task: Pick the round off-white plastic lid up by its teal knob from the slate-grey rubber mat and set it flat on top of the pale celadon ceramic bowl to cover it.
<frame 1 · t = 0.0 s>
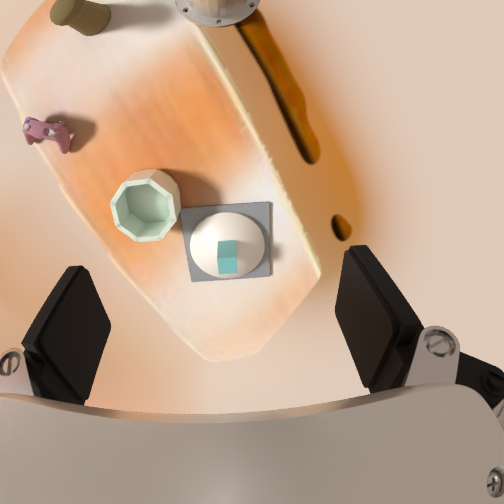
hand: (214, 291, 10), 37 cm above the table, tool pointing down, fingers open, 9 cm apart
mat: (227, 243, 51), on the table
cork: (94, 20, 28), on the table
bowl: (151, 197, 45), on the table
lid: (227, 245, 51), resting on mat
video game controller: (53, 131, 37), on the table
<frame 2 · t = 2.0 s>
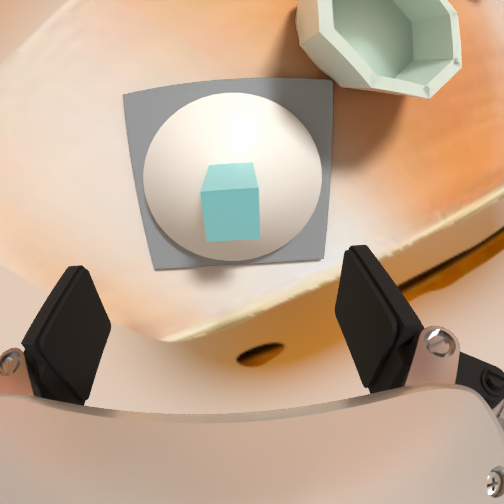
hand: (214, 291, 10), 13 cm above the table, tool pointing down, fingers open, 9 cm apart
mat: (232, 177, 21), on the table
bowl: (360, 31, 15), on the table
lid: (232, 179, 21), point 1 cm above the table, touching mat
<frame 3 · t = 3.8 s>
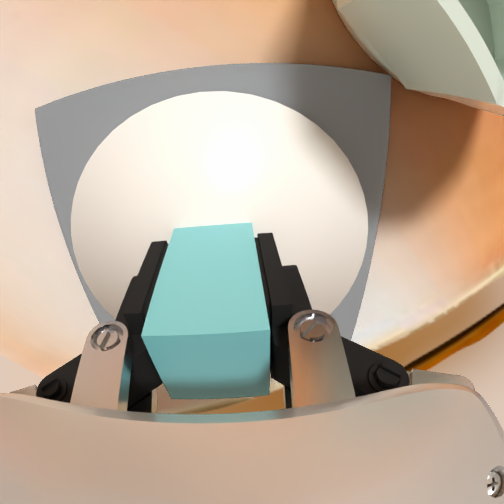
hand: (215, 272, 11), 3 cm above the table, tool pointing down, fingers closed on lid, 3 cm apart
mat: (217, 240, 13), on the table
bowl: (424, 3, 7), on the table
lid: (216, 246, 13), point 1 cm above the table, touching gripper, mat
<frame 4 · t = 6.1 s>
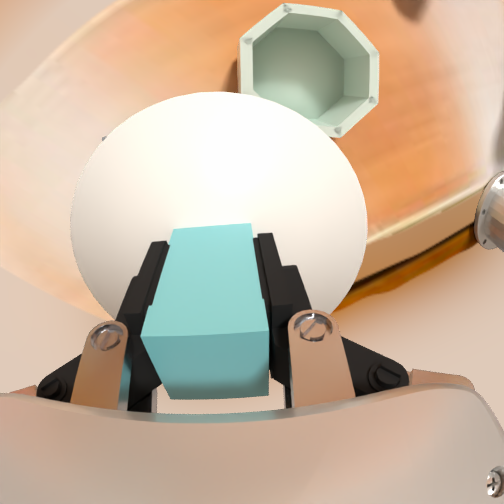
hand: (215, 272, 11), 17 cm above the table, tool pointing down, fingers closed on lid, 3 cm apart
bowl: (294, 73, 21), on the table
lid: (216, 246, 13), point 15 cm above the table, touching gripper
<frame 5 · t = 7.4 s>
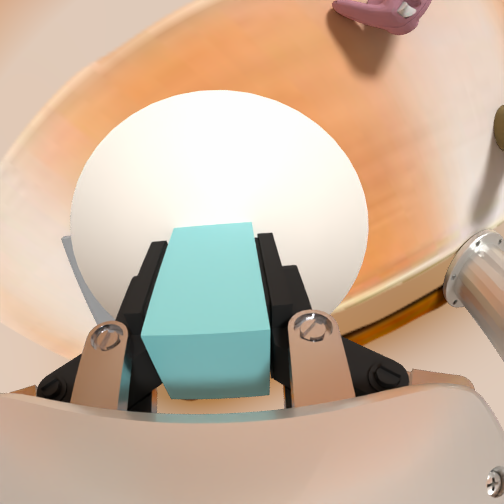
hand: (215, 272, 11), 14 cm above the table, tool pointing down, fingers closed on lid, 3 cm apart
mat: (142, 292, 29), on the table
lid: (216, 245, 12), point 12 cm above the table, touching gripper
when the fingers open (9 cm above the table, at t = 8.4 s): lid drops 1 cm, resting on bowl.
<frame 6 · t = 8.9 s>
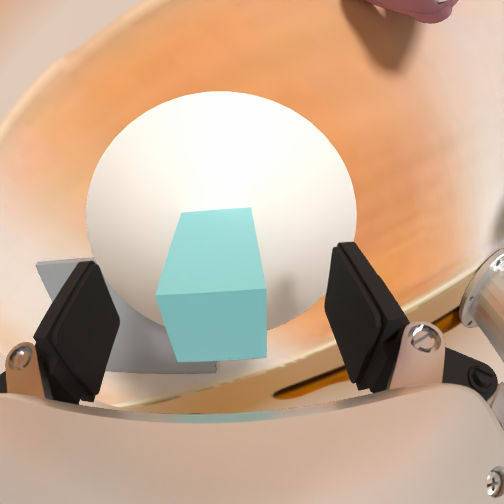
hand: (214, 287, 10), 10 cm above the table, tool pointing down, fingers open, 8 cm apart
mat: (128, 323, 25), on the table
lid: (219, 230, 14), point 6 cm above the table, touching bowl
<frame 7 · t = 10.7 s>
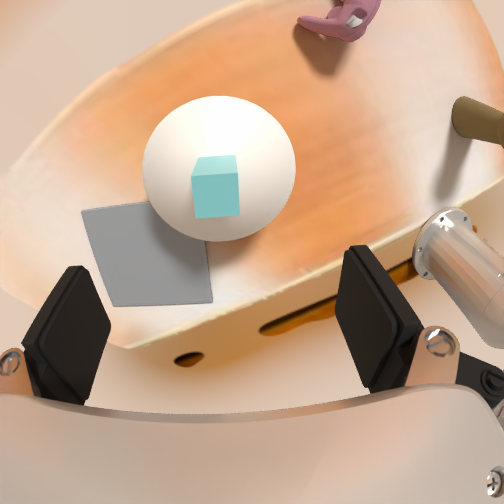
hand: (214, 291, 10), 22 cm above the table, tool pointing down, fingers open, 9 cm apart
mat: (148, 257, 35), on the table
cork: (464, 116, 27), on the table
lid: (218, 170, 24), point 6 cm above the table, touching bowl
video game controller: (333, 6, 21), on the table
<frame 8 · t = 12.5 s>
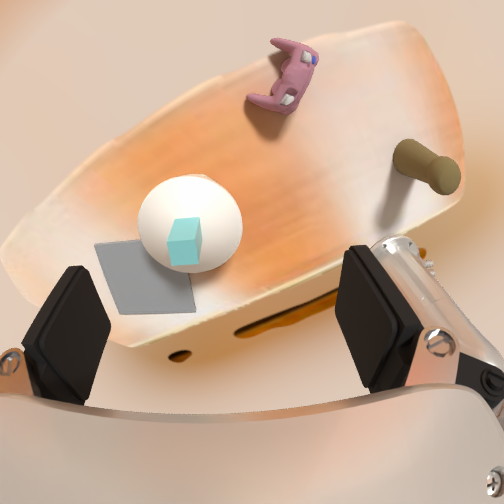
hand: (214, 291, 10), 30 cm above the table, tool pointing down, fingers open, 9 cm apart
mat: (146, 278, 46), on the table
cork: (407, 156, 38), on the table
lid: (189, 225, 35), point 6 cm above the table, touching bowl
video game controller: (278, 76, 32), on the table
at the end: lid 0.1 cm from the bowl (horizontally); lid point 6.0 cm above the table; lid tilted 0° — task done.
